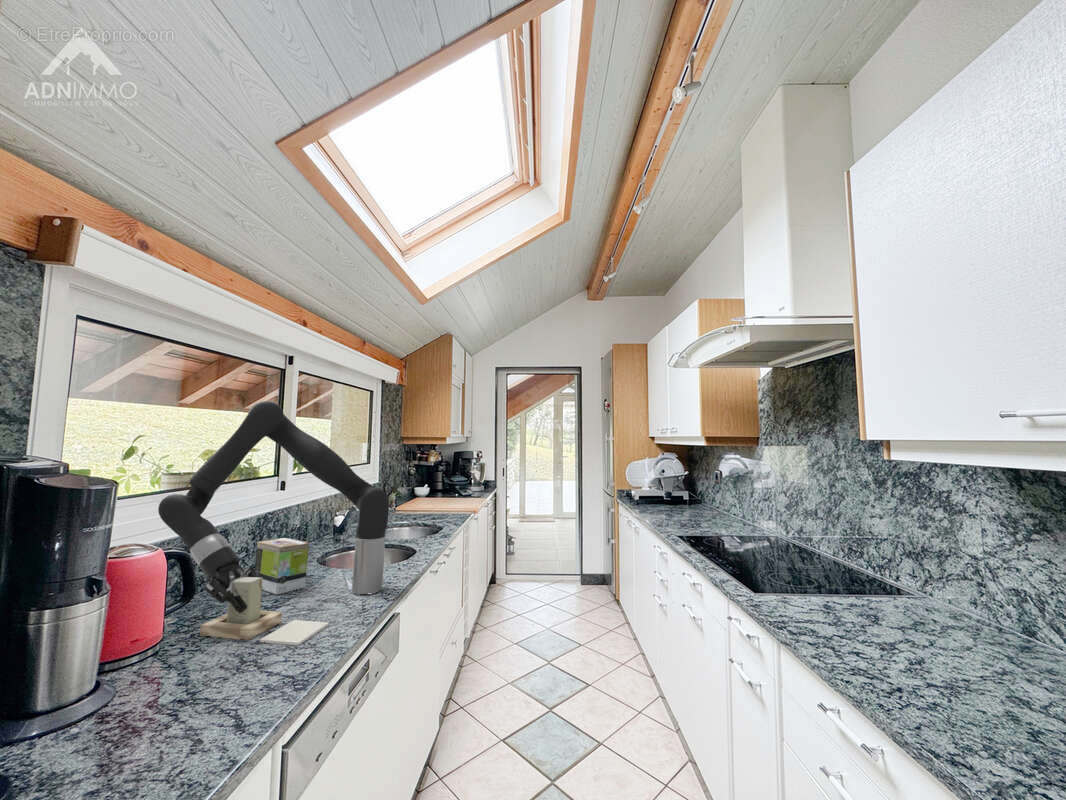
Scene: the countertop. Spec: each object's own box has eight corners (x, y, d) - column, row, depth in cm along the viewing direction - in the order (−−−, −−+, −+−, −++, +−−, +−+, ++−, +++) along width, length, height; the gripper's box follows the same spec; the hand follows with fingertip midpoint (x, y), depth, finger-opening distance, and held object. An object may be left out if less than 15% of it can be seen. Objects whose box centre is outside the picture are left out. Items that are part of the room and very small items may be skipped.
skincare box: (260, 625, 111) (264, 577, 112) (247, 633, 107) (252, 582, 108) (237, 624, 112) (242, 575, 113) (223, 631, 107) (228, 580, 109)
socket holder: (236, 618, 116) (237, 608, 116) (281, 621, 114) (282, 612, 114) (199, 635, 105) (200, 625, 105) (248, 640, 103) (249, 629, 103)
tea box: (306, 587, 142) (310, 541, 143) (275, 596, 133) (279, 547, 135) (282, 579, 150) (286, 536, 151) (251, 587, 141) (255, 541, 143)
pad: (294, 622, 114) (294, 619, 114) (328, 625, 112) (328, 622, 112) (259, 642, 102) (260, 639, 102) (298, 645, 101) (298, 642, 101)
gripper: (200, 552, 105) (239, 606, 102) (246, 540, 120) (281, 587, 117) (178, 573, 106) (217, 628, 103) (227, 558, 120) (262, 606, 117)
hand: (251, 606), depth 110 cm, fingers closed on skincare box, 4 cm apart
